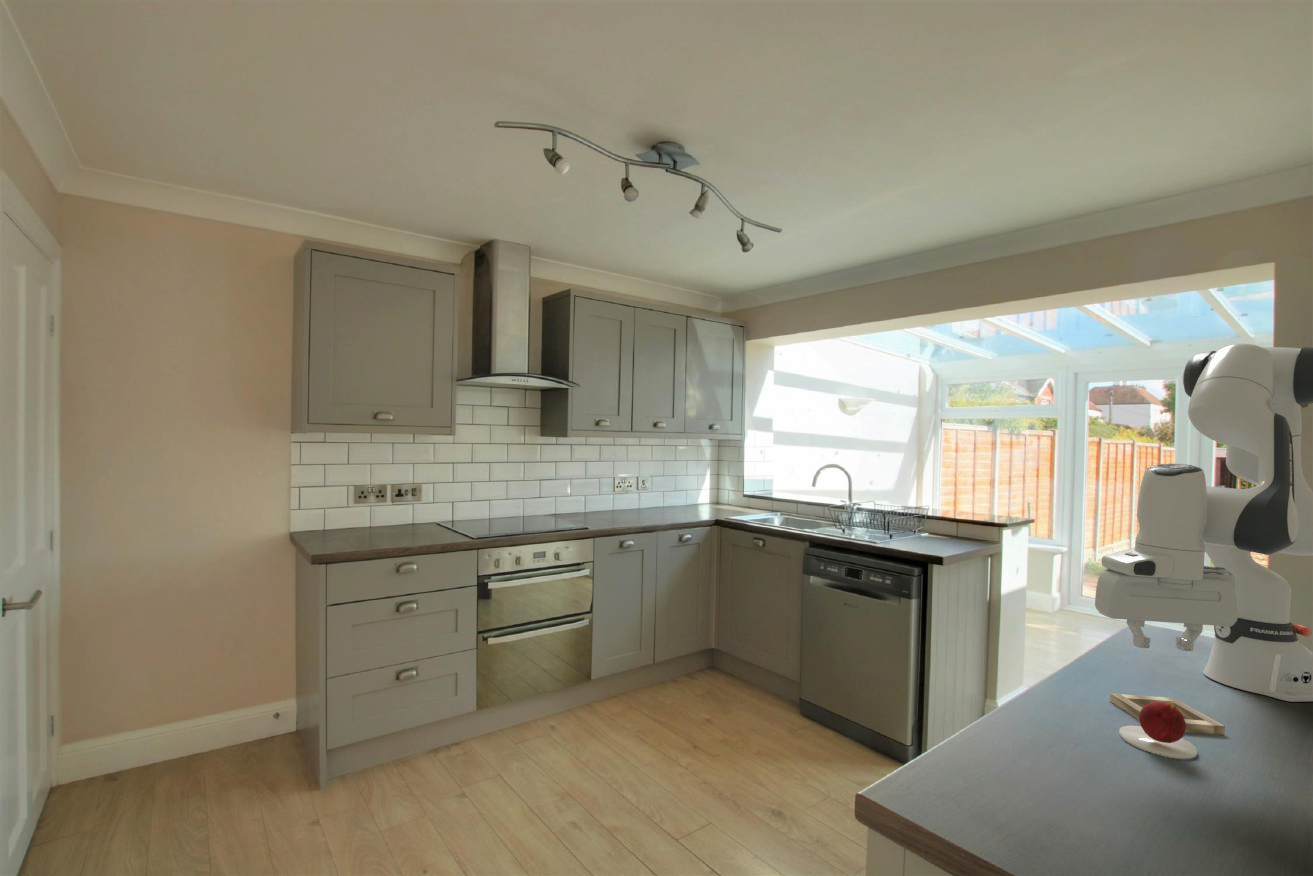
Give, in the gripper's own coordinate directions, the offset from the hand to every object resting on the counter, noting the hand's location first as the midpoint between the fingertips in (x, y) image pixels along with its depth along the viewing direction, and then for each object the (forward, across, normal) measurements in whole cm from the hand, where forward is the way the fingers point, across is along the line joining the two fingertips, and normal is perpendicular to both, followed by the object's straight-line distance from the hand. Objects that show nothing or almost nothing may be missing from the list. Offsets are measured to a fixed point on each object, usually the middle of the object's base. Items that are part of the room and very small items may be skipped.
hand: (1162, 648), depth 103 cm
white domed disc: (+16, 0, 0) cm, 16 cm away
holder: (+16, -9, -11) cm, 21 cm away
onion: (+15, +1, 0) cm, 15 cm away
